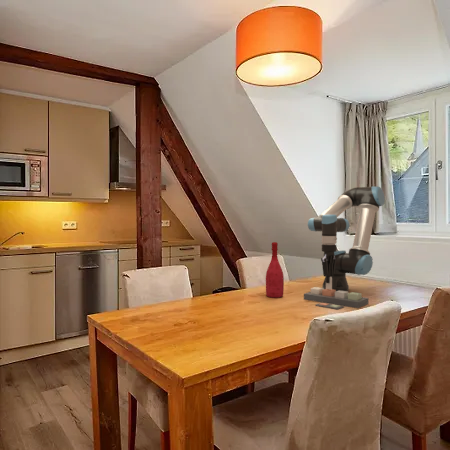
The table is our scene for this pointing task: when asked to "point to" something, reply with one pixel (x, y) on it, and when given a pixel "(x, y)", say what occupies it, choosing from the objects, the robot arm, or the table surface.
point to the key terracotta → (328, 292)
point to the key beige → (341, 294)
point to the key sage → (354, 296)
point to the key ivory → (316, 290)
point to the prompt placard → (329, 306)
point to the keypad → (336, 300)
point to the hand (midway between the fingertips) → (328, 289)
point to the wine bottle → (274, 276)
